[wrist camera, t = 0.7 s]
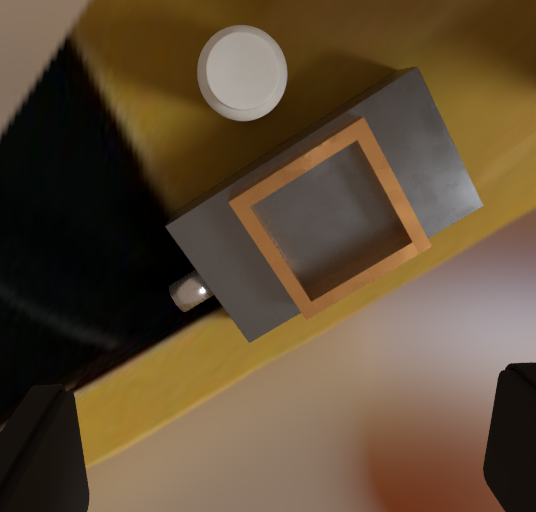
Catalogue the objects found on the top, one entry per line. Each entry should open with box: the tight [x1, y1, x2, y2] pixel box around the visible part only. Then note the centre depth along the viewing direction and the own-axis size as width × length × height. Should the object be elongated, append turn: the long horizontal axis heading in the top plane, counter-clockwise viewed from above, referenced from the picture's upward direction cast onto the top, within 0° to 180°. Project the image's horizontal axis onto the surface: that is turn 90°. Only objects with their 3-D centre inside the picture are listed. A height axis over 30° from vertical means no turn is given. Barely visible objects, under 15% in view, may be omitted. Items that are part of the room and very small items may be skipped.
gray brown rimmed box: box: [165, 67, 483, 343], centre depth 35 cm, size 23×11×6 cm, turn 122°
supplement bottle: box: [197, 25, 287, 121], centre depth 30 cm, size 5×5×10 cm
